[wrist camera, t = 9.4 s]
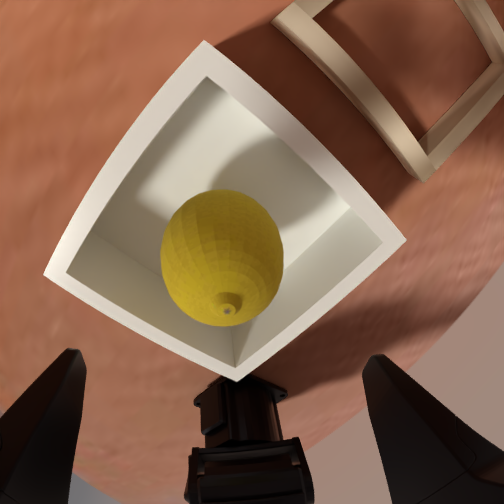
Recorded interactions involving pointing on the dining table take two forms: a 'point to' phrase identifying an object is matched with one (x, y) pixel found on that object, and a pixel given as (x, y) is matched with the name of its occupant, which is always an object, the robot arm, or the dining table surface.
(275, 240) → the lemon
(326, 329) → the dining table surface
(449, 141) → the rectangular frame
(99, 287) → the bin
